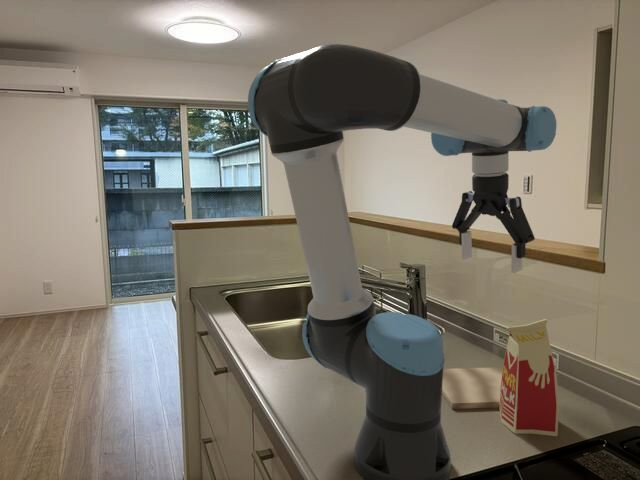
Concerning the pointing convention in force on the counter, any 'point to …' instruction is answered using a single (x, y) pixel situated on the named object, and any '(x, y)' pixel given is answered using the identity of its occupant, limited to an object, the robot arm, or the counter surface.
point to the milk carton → (529, 382)
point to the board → (472, 387)
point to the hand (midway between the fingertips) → (490, 264)
